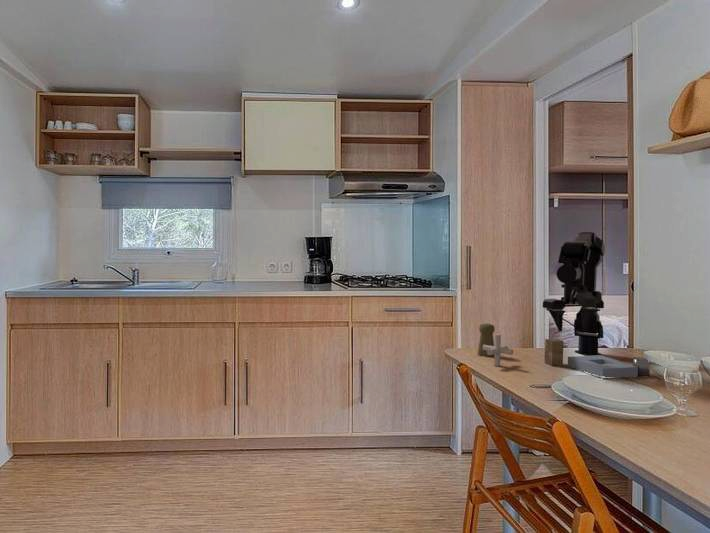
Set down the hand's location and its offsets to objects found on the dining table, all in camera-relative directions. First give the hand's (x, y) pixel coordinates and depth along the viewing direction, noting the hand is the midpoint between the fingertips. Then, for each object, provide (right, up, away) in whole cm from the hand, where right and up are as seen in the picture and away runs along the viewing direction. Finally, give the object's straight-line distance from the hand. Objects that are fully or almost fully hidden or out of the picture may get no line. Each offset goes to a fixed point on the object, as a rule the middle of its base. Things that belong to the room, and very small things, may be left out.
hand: (572, 330), depth 161 cm
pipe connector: (-23, -12, +2) cm, 26 cm away
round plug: (+17, -12, -8) cm, 22 cm away
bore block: (+7, -12, -5) cm, 14 cm away
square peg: (-4, -11, +4) cm, 13 cm away
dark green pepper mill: (-23, -11, +17) cm, 31 cm away
